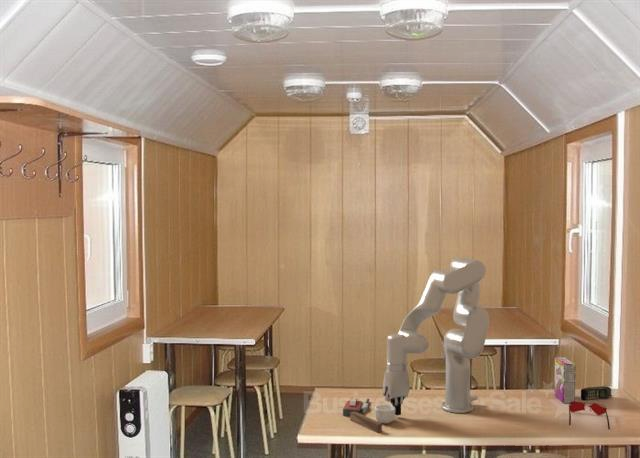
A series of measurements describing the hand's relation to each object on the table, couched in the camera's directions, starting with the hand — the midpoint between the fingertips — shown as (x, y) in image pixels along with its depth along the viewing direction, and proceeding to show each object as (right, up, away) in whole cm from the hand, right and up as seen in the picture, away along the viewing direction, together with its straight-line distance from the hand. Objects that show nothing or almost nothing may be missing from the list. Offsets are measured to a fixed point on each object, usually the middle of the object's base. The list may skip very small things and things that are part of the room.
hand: (396, 414), depth 251 cm
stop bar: (-12, -2, -9) cm, 15 cm away
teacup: (-5, -2, -3) cm, 6 cm away
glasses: (+72, -2, -3) cm, 72 cm away
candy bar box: (+72, 0, +21) cm, 75 cm away
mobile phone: (+86, 0, +22) cm, 89 cm away
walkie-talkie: (-15, -1, +10) cm, 18 cm away
